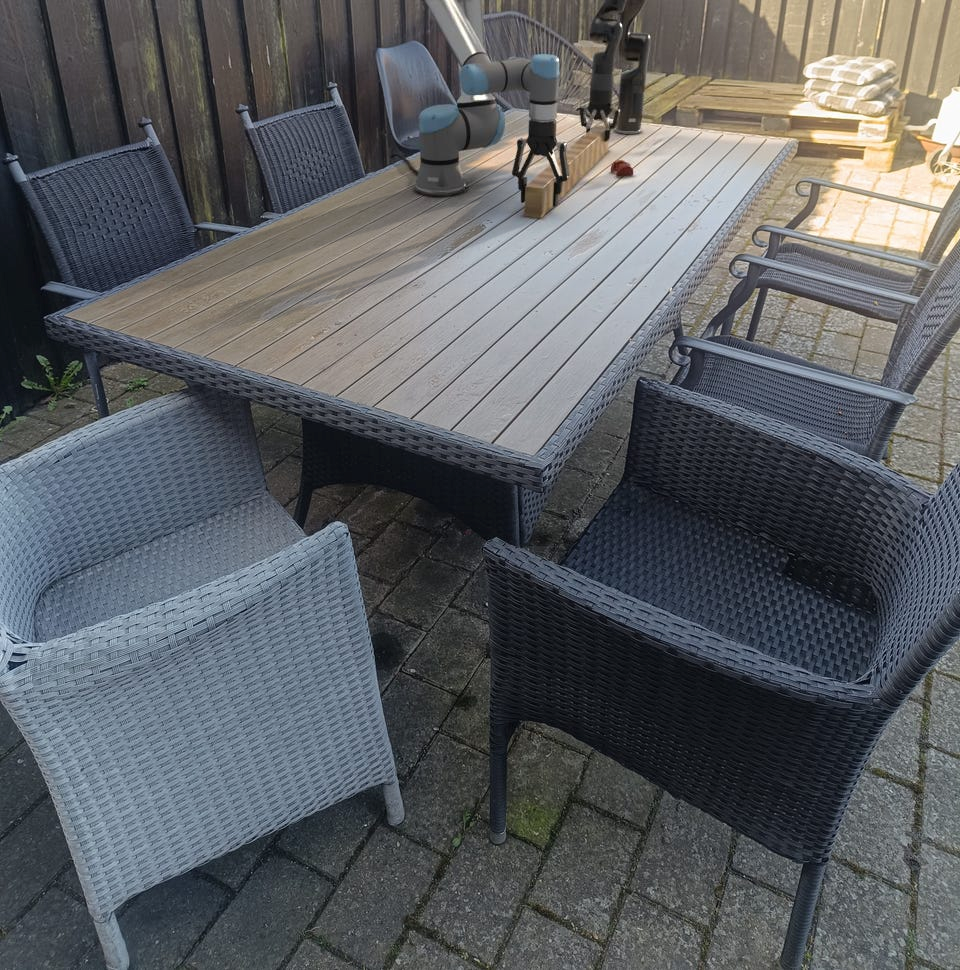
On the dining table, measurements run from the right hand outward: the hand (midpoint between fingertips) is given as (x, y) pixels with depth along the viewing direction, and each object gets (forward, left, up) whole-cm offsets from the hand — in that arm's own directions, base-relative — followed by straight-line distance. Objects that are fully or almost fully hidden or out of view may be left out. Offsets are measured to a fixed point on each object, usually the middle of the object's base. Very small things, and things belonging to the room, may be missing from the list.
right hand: (597, 140), depth 289 cm
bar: (+27, -19, -5) cm, 33 cm away
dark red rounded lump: (+25, -1, -5) cm, 25 cm away
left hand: (+54, -39, -2) cm, 66 cm away
